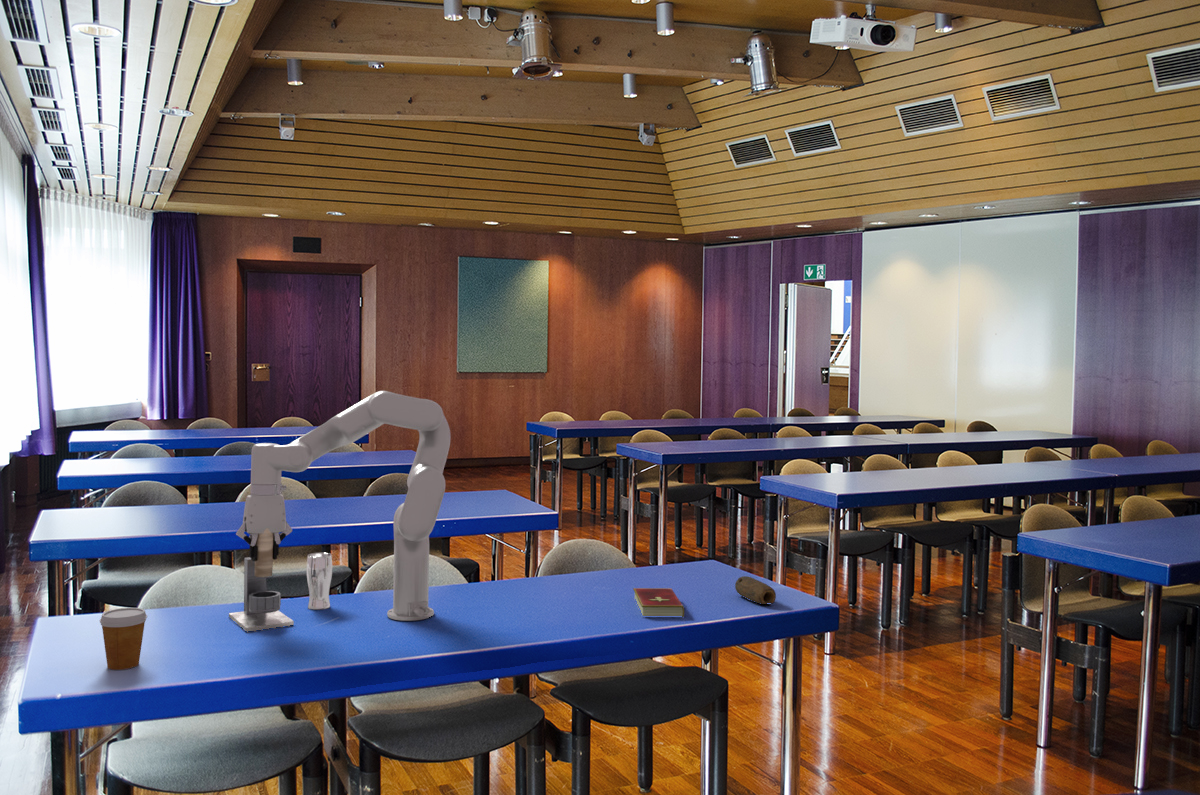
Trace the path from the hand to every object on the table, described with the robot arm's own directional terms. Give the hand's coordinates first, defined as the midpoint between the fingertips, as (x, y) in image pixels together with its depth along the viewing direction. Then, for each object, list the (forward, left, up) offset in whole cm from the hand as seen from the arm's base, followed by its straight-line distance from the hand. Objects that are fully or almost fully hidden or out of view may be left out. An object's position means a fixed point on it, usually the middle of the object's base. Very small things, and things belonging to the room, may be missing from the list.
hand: (263, 558), depth 238 cm
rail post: (0, 0, -4) cm, 4 cm away
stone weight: (-52, -130, -18) cm, 142 cm away
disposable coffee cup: (-17, +36, -18) cm, 43 cm away
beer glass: (+10, -18, -18) cm, 27 cm away
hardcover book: (-43, -100, -18) cm, 110 cm away
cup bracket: (+3, 0, -17) cm, 18 cm away
